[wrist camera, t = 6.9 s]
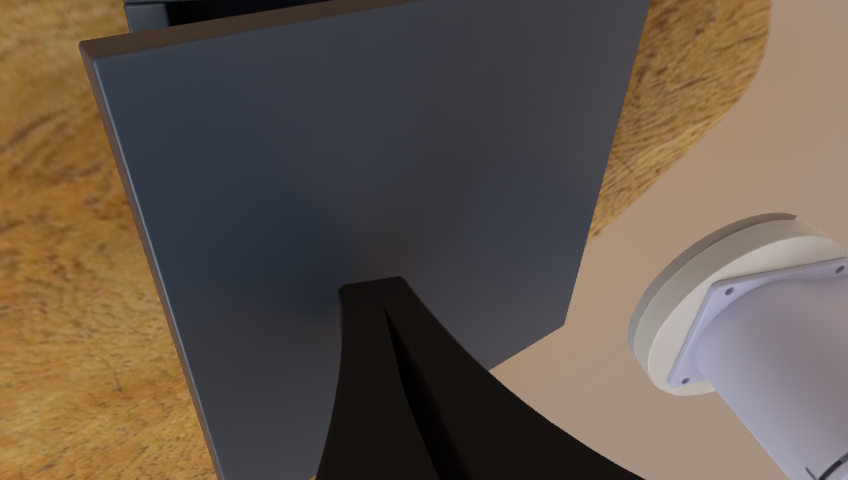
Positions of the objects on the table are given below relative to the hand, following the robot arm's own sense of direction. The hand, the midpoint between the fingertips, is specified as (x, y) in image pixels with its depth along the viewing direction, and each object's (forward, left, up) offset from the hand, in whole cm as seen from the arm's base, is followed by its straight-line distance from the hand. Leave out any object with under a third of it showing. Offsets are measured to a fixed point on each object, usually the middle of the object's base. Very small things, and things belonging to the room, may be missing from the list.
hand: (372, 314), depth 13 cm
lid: (-2, 0, -2) cm, 3 cm away
